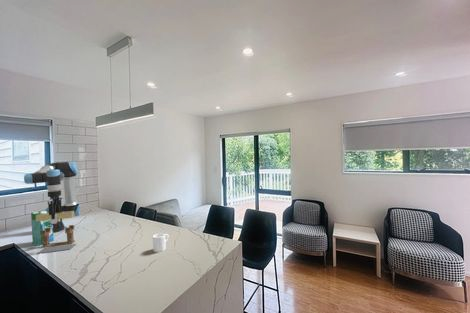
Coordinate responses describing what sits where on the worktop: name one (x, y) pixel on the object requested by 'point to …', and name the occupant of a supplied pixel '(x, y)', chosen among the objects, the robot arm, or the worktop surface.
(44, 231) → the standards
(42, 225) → the milk carton
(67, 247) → the mat
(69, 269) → the worktop surface
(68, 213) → the rail
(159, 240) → the mug
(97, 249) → the worktop surface
